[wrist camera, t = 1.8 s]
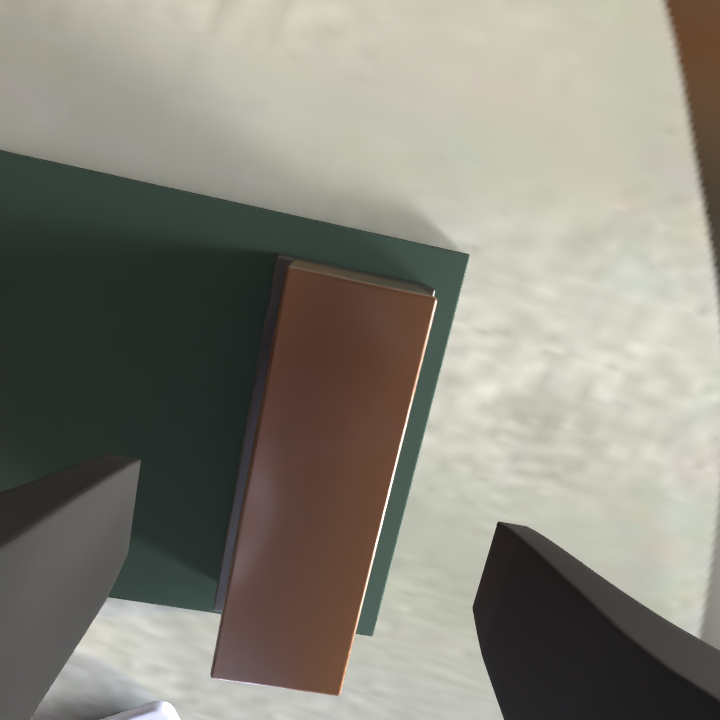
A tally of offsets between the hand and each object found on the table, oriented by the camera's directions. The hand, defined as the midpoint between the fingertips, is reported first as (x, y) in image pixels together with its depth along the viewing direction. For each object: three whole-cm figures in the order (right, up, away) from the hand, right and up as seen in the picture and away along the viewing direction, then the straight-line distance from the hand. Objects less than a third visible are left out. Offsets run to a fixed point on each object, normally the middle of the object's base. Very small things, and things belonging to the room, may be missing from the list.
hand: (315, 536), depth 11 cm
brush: (0, +1, +5) cm, 5 cm away
